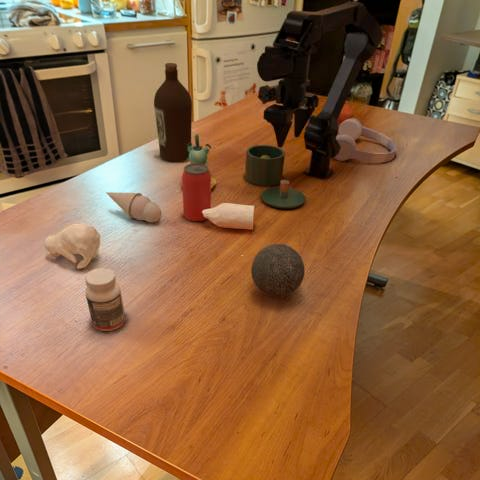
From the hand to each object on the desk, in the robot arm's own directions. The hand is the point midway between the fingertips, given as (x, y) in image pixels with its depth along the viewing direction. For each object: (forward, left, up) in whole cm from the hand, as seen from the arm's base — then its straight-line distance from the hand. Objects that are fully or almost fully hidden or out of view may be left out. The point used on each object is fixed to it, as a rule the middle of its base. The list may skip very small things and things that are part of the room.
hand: (288, 142), depth 119 cm
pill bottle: (+68, +1, -12) cm, 70 cm away
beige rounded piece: (+58, -18, -12) cm, 62 cm away
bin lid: (+8, +4, -11) cm, 14 cm away
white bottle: (+28, 0, -12) cm, 30 cm away
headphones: (-38, +9, -12) cm, 41 cm away
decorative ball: (+44, +22, -12) cm, 50 cm away
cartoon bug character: (+15, -18, -12) cm, 27 cm away
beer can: (+28, -9, -12) cm, 32 cm away
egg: (-1, -7, -12) cm, 14 cm away
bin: (-1, -7, -12) cm, 14 cm away
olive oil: (+2, -36, -12) cm, 39 cm away
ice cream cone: (+37, -21, -12) cm, 44 cm away
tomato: (-57, -8, -12) cm, 59 cm away
